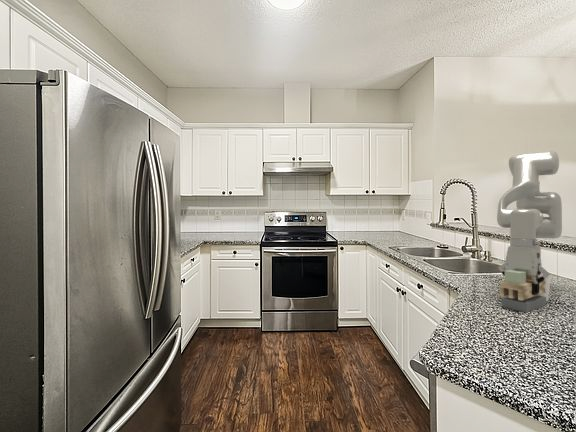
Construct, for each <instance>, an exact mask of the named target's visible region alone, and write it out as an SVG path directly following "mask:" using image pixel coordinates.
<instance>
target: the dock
mask: <svg viewBox="0 0 576 432" xmlns="http://www.w3.org/2000/svg"><path fill="white" fill-rule="evenodd" d="M544 306H547V301H546V297H544V296H539V295H537V296H534V297H531V298H528V299H525V300H518V297H516V298H513V299H512V298H509V295H507V296H504V297H501V307H503V308H508V309H511V310H517V311H521V312H525V313H528V312H531V311H533V310H536V309H539V308H542V307H544Z"/></svg>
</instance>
